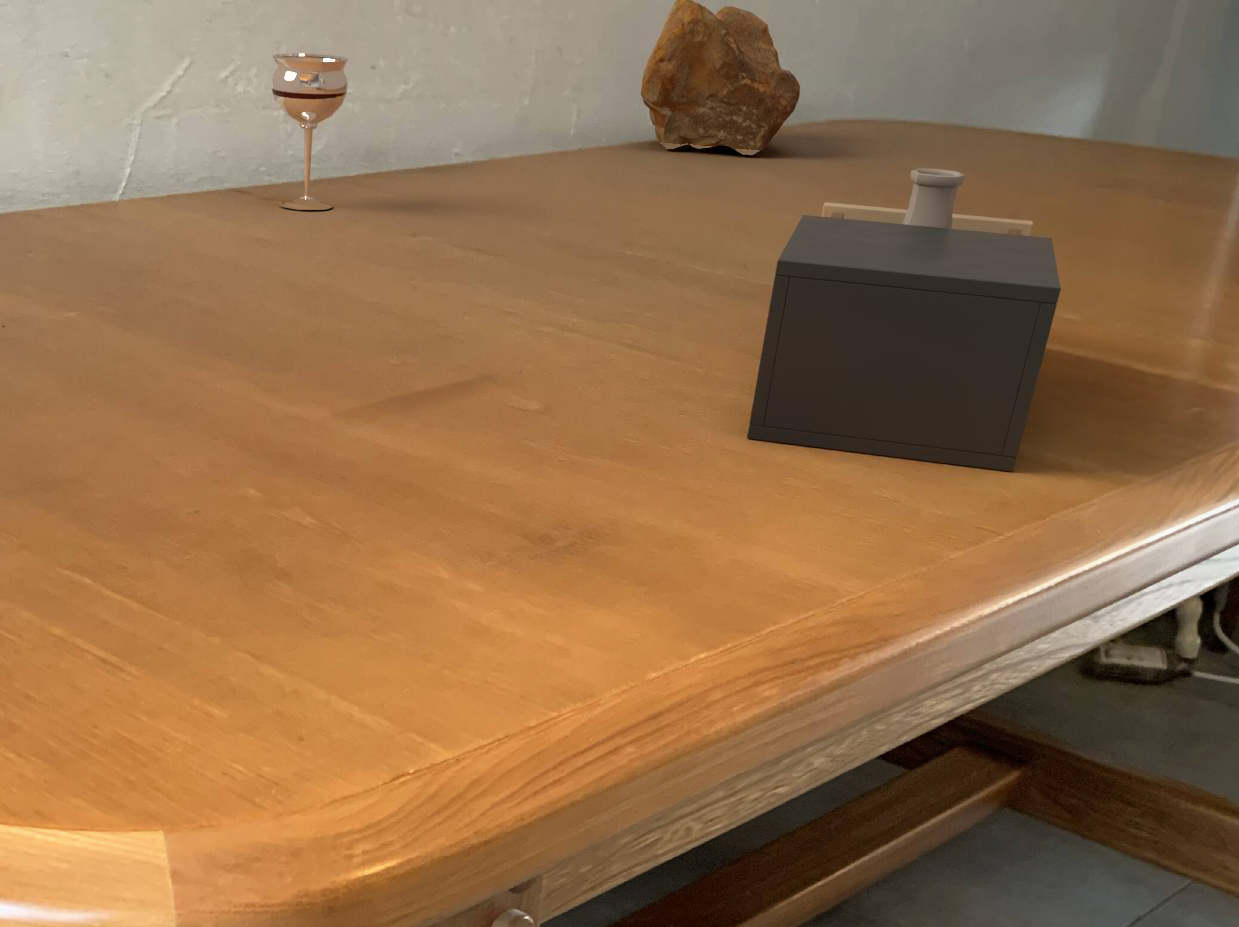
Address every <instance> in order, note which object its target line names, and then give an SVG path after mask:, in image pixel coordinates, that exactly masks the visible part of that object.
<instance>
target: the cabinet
mask: <svg viewBox="0 0 1239 927" xmlns="http://www.w3.org/2000/svg"><path fill="white" fill-rule="evenodd" d="M1052 238H1053V237H1042V236H1032V235H1031V236H1023V235H1012V234H1002V233H991V232H980V231H970V230H959V229H948V228H937V227H927V226H916V225H905V224H895V223H884V222H873V221H862V220H852V219H841V218H830V217H822V216H819V215H809V214H803V215H802V216H801V218H800V220H799V222H798V223H797V225H796V226H795V228H794V231H793V232H792V233H791V236H790V238H789V239H788V241H787V243H786V245H785V247H784V248H783V250H782V252H781V253H780V256H779V257H778V259H777V261H776V267H775V273H774V274H775V275H774V279H773V283H772V284H773V285H772V289H771V295H770V302H769V307H768V313H767V319H766V326H765V332H764V336H763V342H762V349H761V353H760V359H759V364H758V372H757V378H756V383H755V390H754V395H753V401H752V407H751V412H750V418H749V425H748V429H747V435H746V438H747V439H749V440H756V441H764V442H772V443H779V444H780V443H781V444H788V445H789V444H790V445H795V446H796V445H797V446H802V447H803V446H804V447H811V448H819V449H826V450H827V449H828V450H835V451H837V450H838V451H843V452H851V451H852V452H851V453H860V454H869V455H875V456H885V457H892V458H899V459H900V458H901V459H907V460H914V461H915V460H916V461H925V462H931V463H939V464H948V465H954V466H955V465H957V466H965V467H971V468H972V467H973V468H980V469H987V470H997V471H1004V472H1011V473H1013V472H1014V470H1015V467H1016V462H1017V458H1018V454H1019V450H1020V447H1021V443H1022V439H1023V435H1024V431H1025V428H1026V425H1027V419H1028V417H1029V412H1030V409H1031V405H1032V401H1033V397H1034V393H1035V390H1036V386H1037V382H1038V378H1039V374H1040V371H1041V367H1042V364H1043V359H1044V355H1045V352H1046V347H1047V344H1048V339H1049V336H1050V332H1051V329H1052V324H1053V321H1054V317H1055V313H1056V310H1057V305H1058V302H1059V298H1060V294H1061V291H1062V290H1061V289H1062V288H1061V283H1060V282H1061V281H1060V276H1059V271H1058V266H1057V260H1056V256H1055V255H1056V254H1055V250H1054V244H1053V239H1052Z"/></svg>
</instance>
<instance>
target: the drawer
mask: <svg viewBox="0 0 1239 927" xmlns="http://www.w3.org/2000/svg"><path fill="white" fill-rule="evenodd" d="M907 210H908V209H905V208H904V209H903V208H893V207H883V206H870V205H861V204H850V203H849V204H848V203H840V202H839V203H838V202H829V201H828V202H827V201H825V202H824V203H823V206H822V212H821V217H830V218H841V219H852V220H862V221H873V222H884V223H895V224H902V223H903V220H904V218H905V215H906V213H907ZM1033 227H1034V221H1033V220H1026V219H1025V220H1024V219H1015V218H1014V219H1013V218H1003V217H992V216H978V215H971V214H961V213H960V214H959V213H952V228H951V229H959V230H970V231H980V232H991V233H1002V234H1012V235H1023V236H1032V231H1033Z"/></svg>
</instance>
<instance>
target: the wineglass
mask: <svg viewBox="0 0 1239 927" xmlns="http://www.w3.org/2000/svg"><path fill="white" fill-rule="evenodd" d="M272 59H273V60H274V63H275V66H276V67H275V70H274V71H273V73H272V78H271V92H272V95H273V99H274V101H275V103H276V104H277V105H278V107H279V108H280V109H281V111H283V113H284V114H285V115H286V116H288V117H290V118H291V119H293V120H294V121H296V122H297V123H298V126H299V128H300V129H302V130H303V163H304V164H303V166H304V168H303V170H304V171H303V172H304V173H303V174H304V175H303V176H304V178H303V179H304V182H303V183H304V195H303V196H300V197H299V198H300V199H305V200H306V199H308V200H310V199H315V198H314V197H312V196H309V195H310V181H311V180H310V179H311V163H312V150H313V149H312V147H313V133H314V130H316V129H317V128H318V127H319V125H318V124H320V123H321V122H323V121H325V120H327V119H329V118H331V117H333V116H334V115H335V113H336V112H337V111H338V110H340V107H342V105H343V104H344V102H345V99H346V96H347V92H348V86H349V85H348V80H347V79H348V78H347V75H346V73H345V70H344V69H345V67H346V65H347V63H348V61H349V59H348V58H347V57H344V56H339V55H332V54H320V53H296V52H295V53H292V52H291V53H277V54H272Z"/></svg>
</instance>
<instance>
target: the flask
mask: <svg viewBox="0 0 1239 927" xmlns="http://www.w3.org/2000/svg"><path fill="white" fill-rule="evenodd" d="M965 178H966V174H964V173H961V172H959V171H957V170H950V169H949V170H948V169H942V168H923V167H921V168H916V169H913V170H911V172H910V182H913V183H912V190H911V194H910V198H909V199H910V200H909V203H908V208H907V209H906V210H907V213H906V215H905V218H904V220H903V223H902V224H905V225H916V226H927V227H937V228H948V229H951V228H952V214H953V210H954V205H955V201H956V195H957V192H958V188H959V186H962V185H963V183H964V181H965Z"/></svg>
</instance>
